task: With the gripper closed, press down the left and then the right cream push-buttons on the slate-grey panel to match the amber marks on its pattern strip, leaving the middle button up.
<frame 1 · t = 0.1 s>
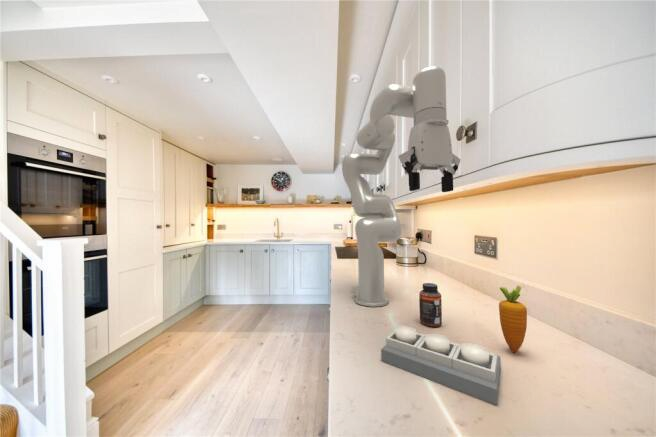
hand: (431, 190, 58), 37 cm above the counter, tool pointing down, fingers open, 9 cm apart
button middle: (437, 343, 48), point 5 cm above the counter, slide at 0.0 cm
supplement bottle: (430, 324, 68), on the counter
carrot: (513, 353, 53), on the counter
panel: (439, 364, 48), on the counter
button left: (405, 334, 52), point 5 cm above the counter, slide at 0.0 cm
button right: (474, 354, 44), point 5 cm above the counter, slide at 0.0 cm
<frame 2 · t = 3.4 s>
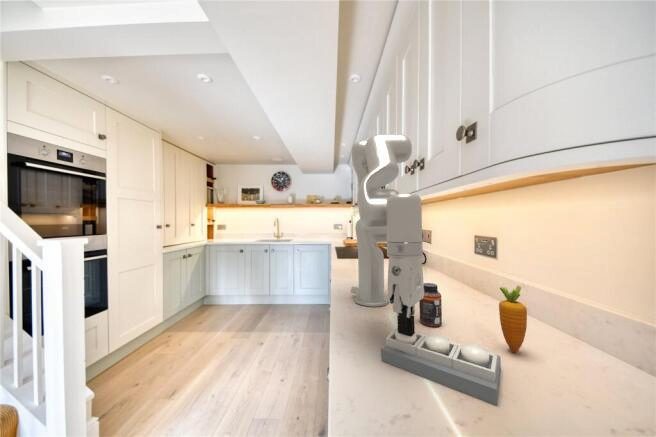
hand: (406, 333, 51), 5 cm above the counter, tool pointing down, fingers closed
button left: (405, 337, 52), point 4 cm above the counter, slide at 0.7 cm, touching gripper
everything else where it was.
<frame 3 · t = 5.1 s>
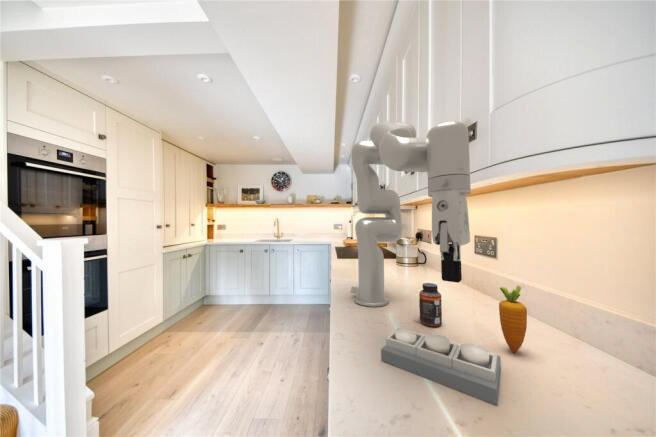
hand: (451, 280, 46), 18 cm above the counter, tool pointing down, fingers closed
button left: (405, 338, 52), point 4 cm above the counter, slide at 0.8 cm
everything else where it was.
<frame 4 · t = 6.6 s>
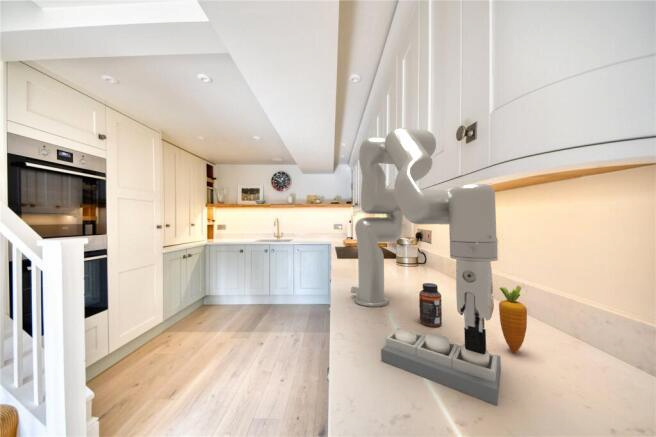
hand: (475, 350, 43), 6 cm above the counter, tool pointing down, fingers closed
button right: (474, 355, 44), point 5 cm above the counter, slide at 0.1 cm, touching gripper
everything else where it was.
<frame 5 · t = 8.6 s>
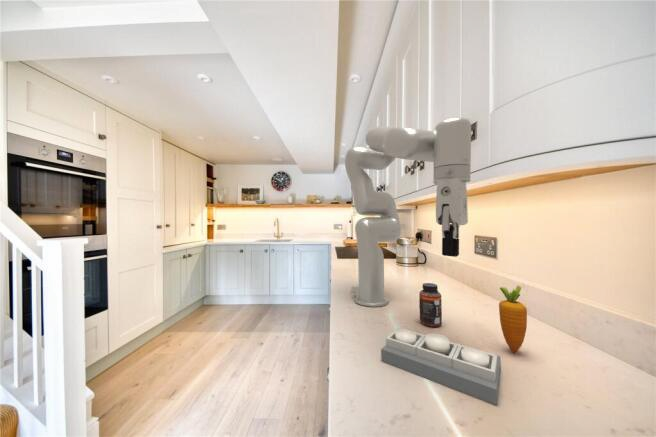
hand: (450, 255, 54), 22 cm above the counter, tool pointing down, fingers closed
button right: (474, 359, 44), point 4 cm above the counter, slide at 0.8 cm
everything else where it was.
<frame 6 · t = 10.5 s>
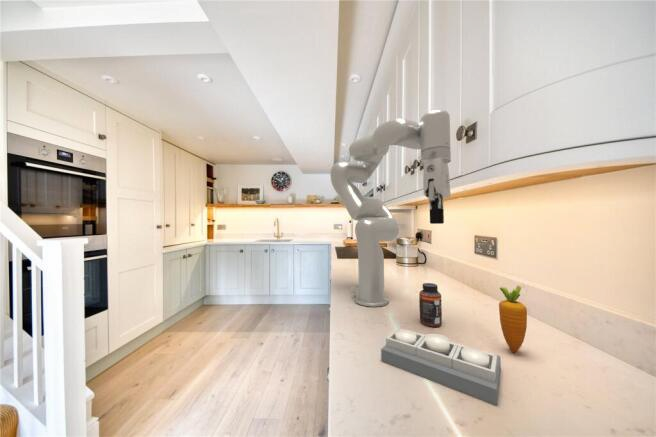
hand: (436, 223, 65), 29 cm above the counter, tool pointing down, fingers closed
nothing on the counter moved.
at the end: button left slide at 0.8 cm; button right slide at 0.8 cm; button middle slide at 0.0 cm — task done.
